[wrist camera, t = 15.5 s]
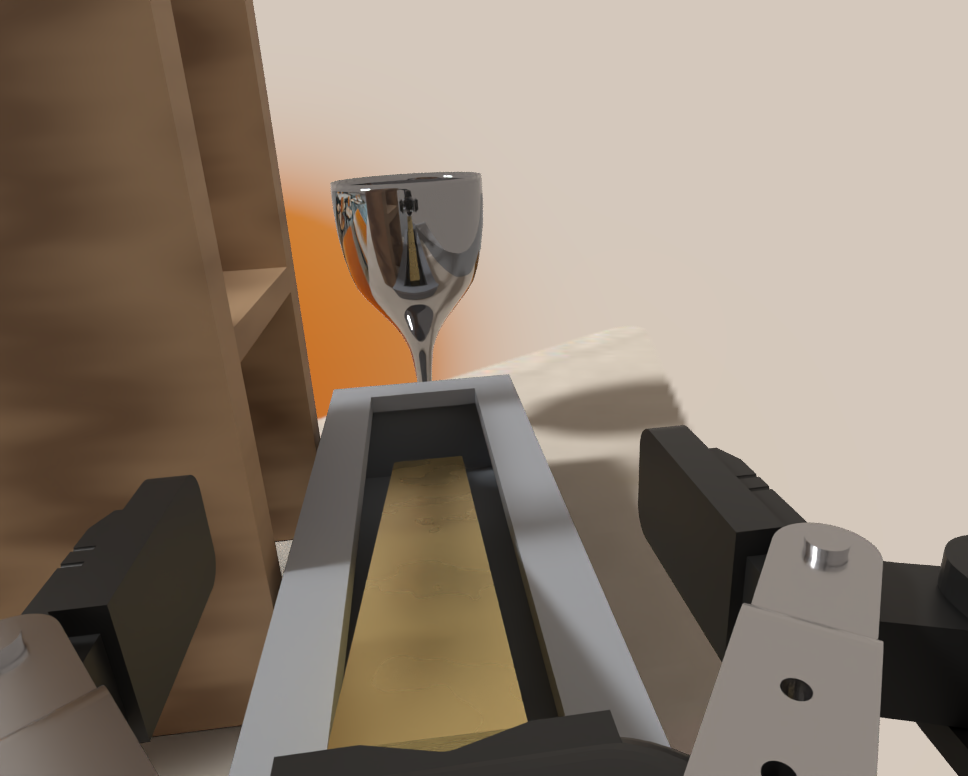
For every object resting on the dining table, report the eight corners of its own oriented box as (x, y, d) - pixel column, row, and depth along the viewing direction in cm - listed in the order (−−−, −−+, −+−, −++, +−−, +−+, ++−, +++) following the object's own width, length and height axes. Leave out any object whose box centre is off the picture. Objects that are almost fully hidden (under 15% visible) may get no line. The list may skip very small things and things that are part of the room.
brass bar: (347, 936, 10) (326, 752, 10) (400, 528, 30) (394, 462, 30) (542, 906, 10) (528, 725, 10) (467, 521, 30) (462, 455, 30)
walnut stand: (32, 751, 21) (-648, -957, 9) (162, 535, 32) (-75, -363, 20) (295, 718, 21) (-36, -915, 10) (332, 518, 33) (196, -361, 21)
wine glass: (520, 425, 42) (511, 171, 36) (436, 479, 36) (410, 185, 30) (424, 401, 46) (403, 172, 41) (335, 445, 40) (297, 185, 35)
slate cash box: (240, 1160, 12) (174, 972, 10) (347, 486, 35) (334, 389, 33) (707, 1075, 13) (730, 885, 11) (512, 470, 36) (508, 374, 34)
